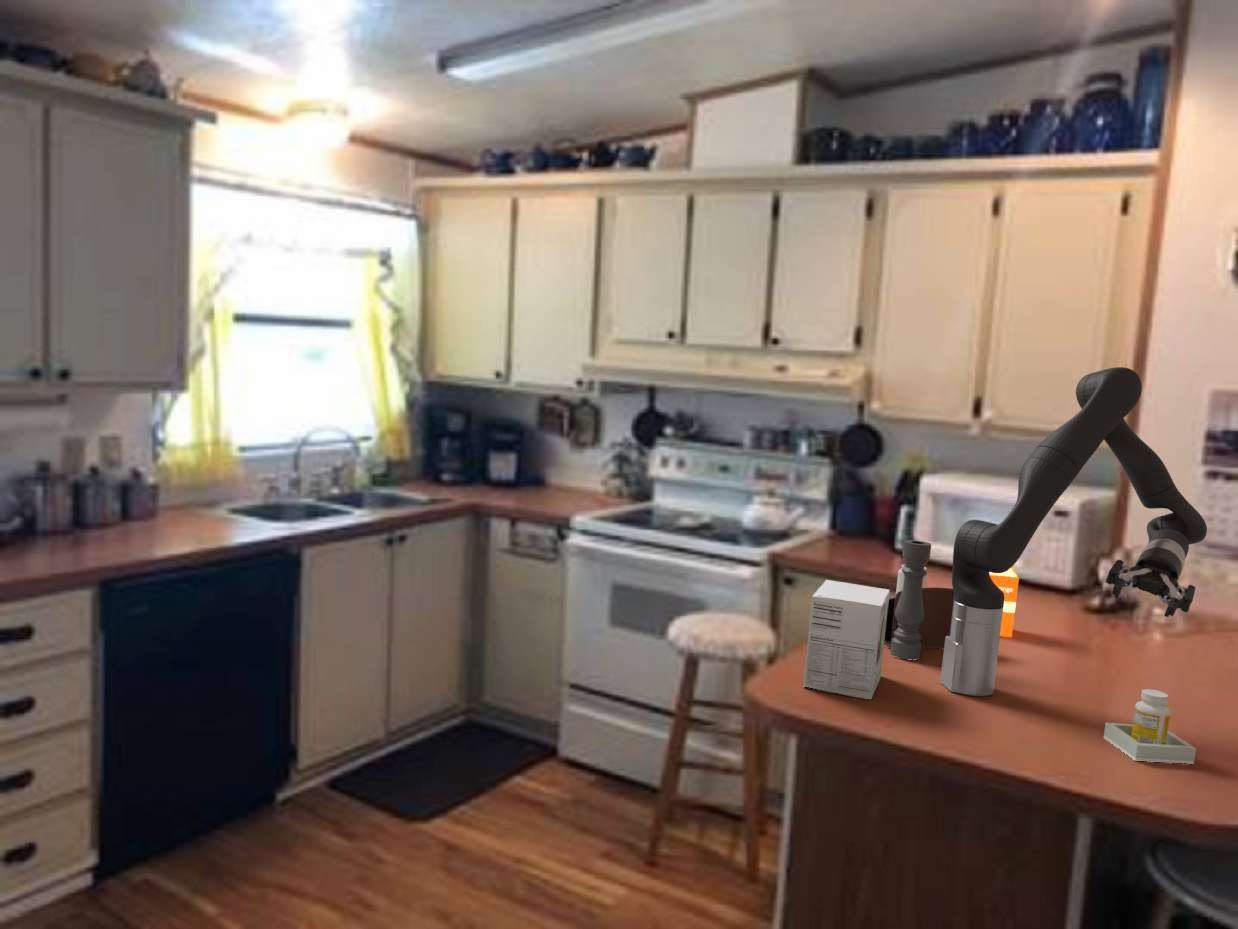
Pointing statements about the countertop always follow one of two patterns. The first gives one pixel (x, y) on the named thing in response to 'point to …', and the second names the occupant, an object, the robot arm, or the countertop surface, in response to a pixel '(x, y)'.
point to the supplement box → (846, 639)
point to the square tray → (1149, 746)
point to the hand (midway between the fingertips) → (1142, 603)
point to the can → (901, 580)
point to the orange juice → (1007, 598)
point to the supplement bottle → (1151, 718)
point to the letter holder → (926, 617)
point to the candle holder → (911, 601)
